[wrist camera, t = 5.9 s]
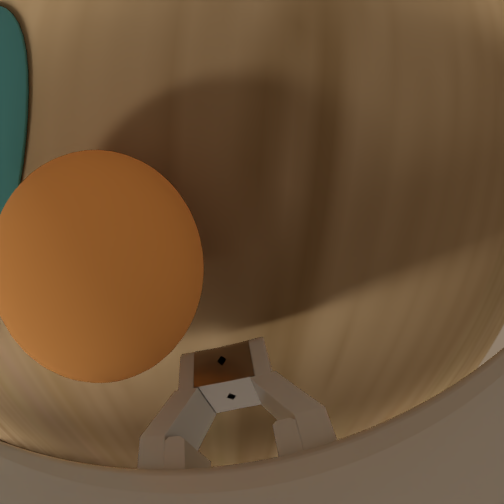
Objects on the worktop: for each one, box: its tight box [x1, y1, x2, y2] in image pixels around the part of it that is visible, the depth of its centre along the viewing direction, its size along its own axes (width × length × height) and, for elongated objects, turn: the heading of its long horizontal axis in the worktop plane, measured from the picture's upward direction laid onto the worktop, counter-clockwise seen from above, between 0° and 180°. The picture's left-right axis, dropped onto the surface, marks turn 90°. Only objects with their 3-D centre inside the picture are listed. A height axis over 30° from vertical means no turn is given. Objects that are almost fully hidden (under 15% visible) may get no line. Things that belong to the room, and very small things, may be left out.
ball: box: [0, 150, 204, 383], centre depth 6 cm, size 6×6×6 cm
